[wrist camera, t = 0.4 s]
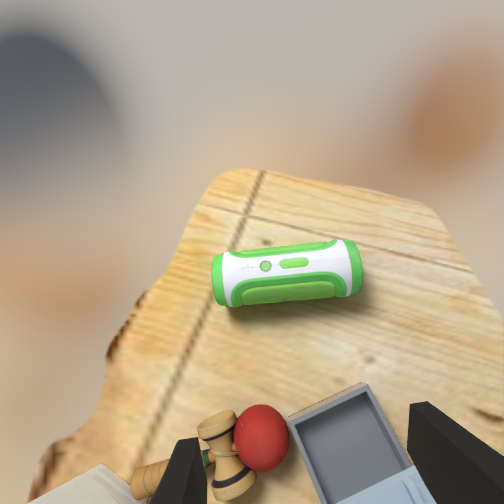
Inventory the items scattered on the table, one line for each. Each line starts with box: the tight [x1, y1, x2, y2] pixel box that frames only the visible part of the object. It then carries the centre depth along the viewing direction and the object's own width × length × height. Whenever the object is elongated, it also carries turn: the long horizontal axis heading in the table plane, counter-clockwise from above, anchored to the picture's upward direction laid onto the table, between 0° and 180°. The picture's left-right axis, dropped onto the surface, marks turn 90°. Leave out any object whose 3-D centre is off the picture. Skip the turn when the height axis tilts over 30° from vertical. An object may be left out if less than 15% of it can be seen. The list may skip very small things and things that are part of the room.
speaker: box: [212, 240, 363, 307], centre depth 36 cm, size 18×7×8 cm, turn 94°
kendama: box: [130, 404, 289, 501], centre depth 31 cm, size 8×6×18 cm
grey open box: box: [288, 382, 412, 504], centre depth 30 cm, size 10×10×4 cm
